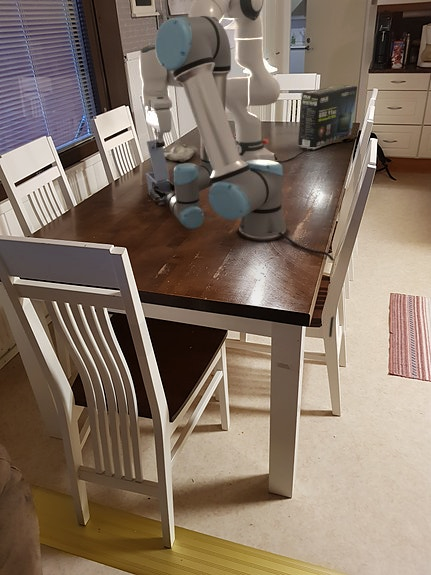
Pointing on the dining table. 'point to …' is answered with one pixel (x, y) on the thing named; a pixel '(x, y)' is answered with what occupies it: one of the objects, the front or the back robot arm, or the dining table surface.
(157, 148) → the grey long flat panel
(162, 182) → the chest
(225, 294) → the dining table surface
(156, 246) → the dining table surface
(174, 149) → the fossil
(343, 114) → the router box
